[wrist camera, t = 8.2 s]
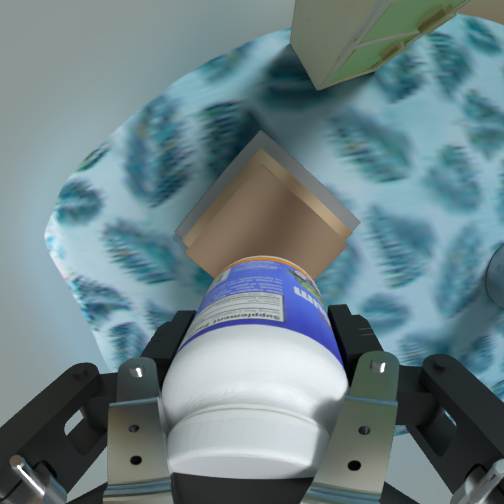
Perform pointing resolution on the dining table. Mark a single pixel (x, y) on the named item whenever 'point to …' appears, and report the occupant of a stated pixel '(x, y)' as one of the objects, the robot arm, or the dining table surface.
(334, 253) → the brown block
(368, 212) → the dining table surface
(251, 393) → the pill bottle
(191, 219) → the base plate
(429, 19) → the tall beige block
